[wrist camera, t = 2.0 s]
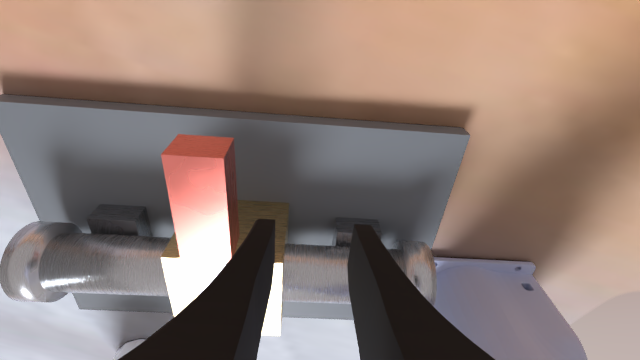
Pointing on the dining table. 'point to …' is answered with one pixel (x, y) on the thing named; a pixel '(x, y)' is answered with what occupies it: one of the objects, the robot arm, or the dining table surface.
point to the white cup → (127, 348)
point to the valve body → (179, 276)
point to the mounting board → (251, 172)
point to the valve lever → (203, 201)
